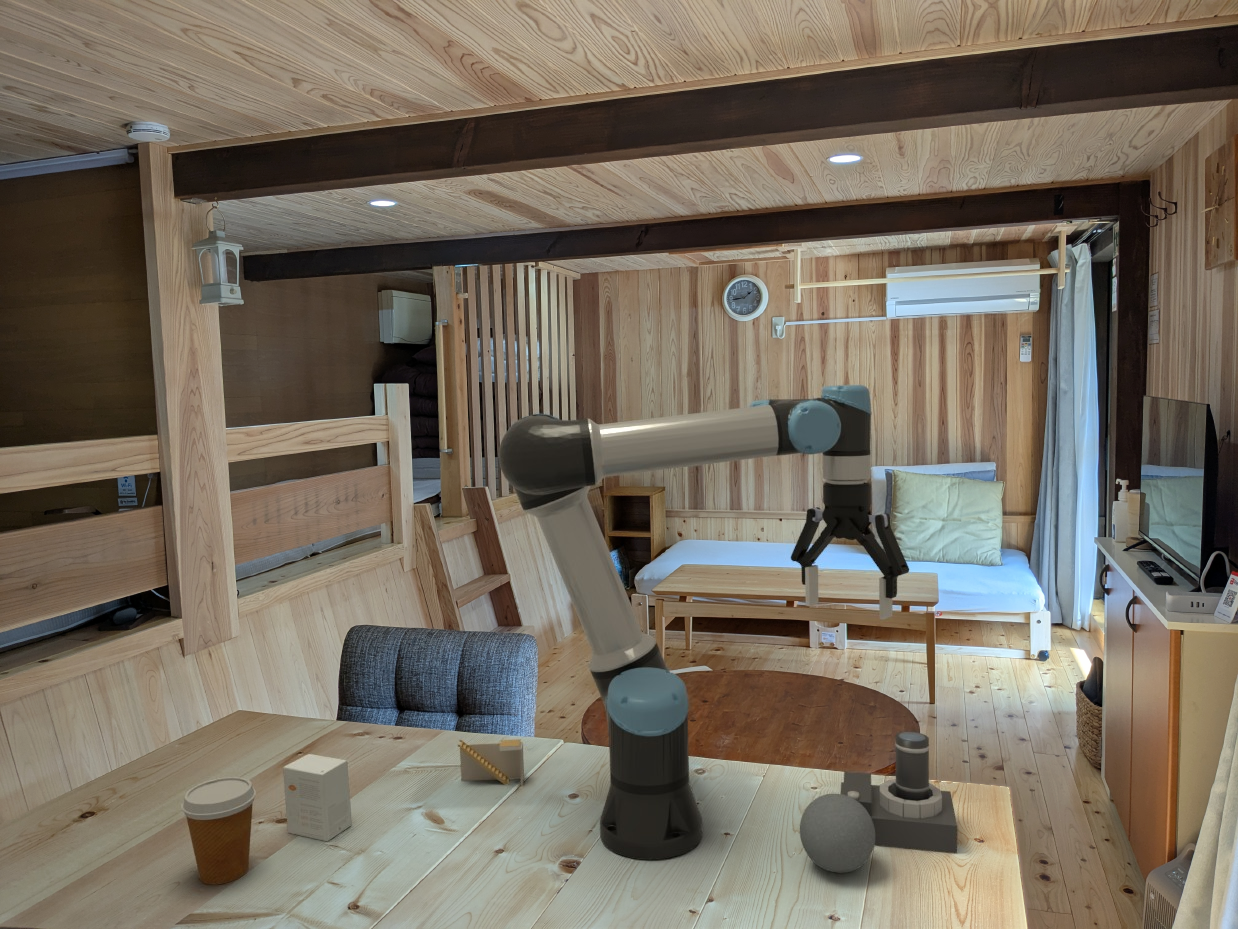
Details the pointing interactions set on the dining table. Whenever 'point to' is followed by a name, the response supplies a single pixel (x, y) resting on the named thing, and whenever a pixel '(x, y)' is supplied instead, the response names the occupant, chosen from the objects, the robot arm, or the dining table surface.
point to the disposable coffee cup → (220, 827)
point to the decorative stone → (837, 833)
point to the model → (492, 761)
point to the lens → (912, 766)
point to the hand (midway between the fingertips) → (847, 611)
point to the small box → (317, 797)
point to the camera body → (905, 815)
